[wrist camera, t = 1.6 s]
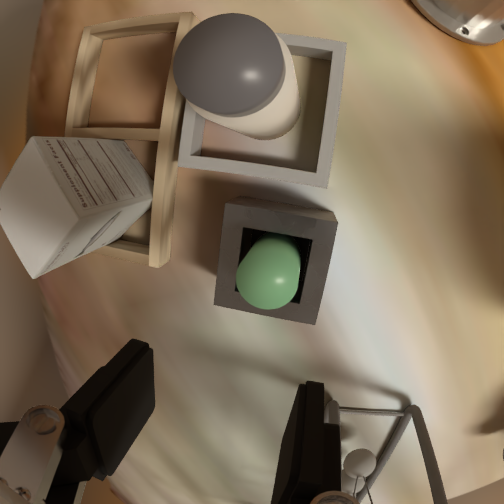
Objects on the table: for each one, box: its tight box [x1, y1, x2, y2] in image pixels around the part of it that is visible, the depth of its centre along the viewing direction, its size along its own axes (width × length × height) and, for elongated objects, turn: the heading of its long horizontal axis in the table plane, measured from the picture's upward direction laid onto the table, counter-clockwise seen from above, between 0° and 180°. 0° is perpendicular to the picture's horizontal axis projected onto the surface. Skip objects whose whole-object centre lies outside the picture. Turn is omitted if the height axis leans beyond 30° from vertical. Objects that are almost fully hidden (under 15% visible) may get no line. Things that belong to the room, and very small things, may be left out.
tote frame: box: [177, 33, 347, 189], centre depth 24 cm, size 12×12×2 cm
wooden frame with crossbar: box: [64, 12, 201, 268], centre depth 27 cm, size 23×12×2 cm, turn 172°
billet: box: [173, 13, 301, 140], centre depth 19 cm, size 6×6×13 cm
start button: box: [236, 232, 301, 309], centre depth 23 cm, size 4×4×6 cm
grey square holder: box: [214, 196, 338, 325], centre depth 26 cm, size 8×8×5 cm
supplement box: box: [0, 136, 154, 279], centre depth 24 cm, size 7×7×13 cm
